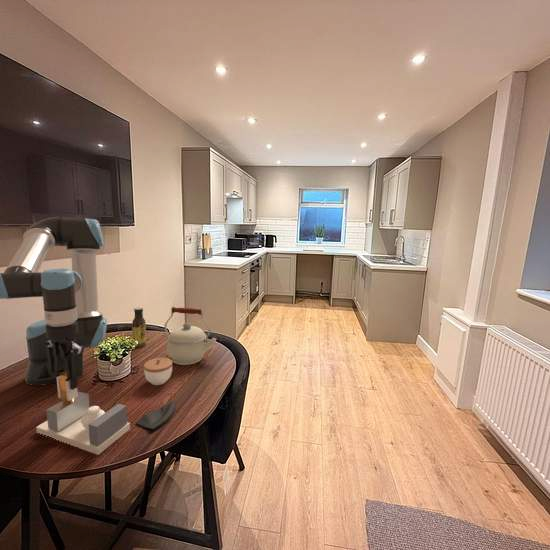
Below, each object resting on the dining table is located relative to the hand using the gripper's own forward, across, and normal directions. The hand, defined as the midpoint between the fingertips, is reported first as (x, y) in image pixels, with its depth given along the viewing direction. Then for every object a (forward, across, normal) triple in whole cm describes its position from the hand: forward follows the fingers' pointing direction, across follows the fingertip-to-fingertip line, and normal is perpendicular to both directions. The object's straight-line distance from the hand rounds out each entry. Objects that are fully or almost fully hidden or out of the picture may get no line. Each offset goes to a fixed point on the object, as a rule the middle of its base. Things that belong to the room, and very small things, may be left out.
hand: (68, 396), depth 87 cm
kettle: (+10, +6, +54) cm, 55 cm away
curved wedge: (+11, +22, +13) cm, 28 cm away
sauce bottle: (+10, -27, +56) cm, 63 cm away
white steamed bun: (+8, +10, 0) cm, 13 cm away
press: (+10, +6, 0) cm, 12 cm away
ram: (+8, 0, 0) cm, 8 cm away
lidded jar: (+10, +6, +32) cm, 34 cm away
